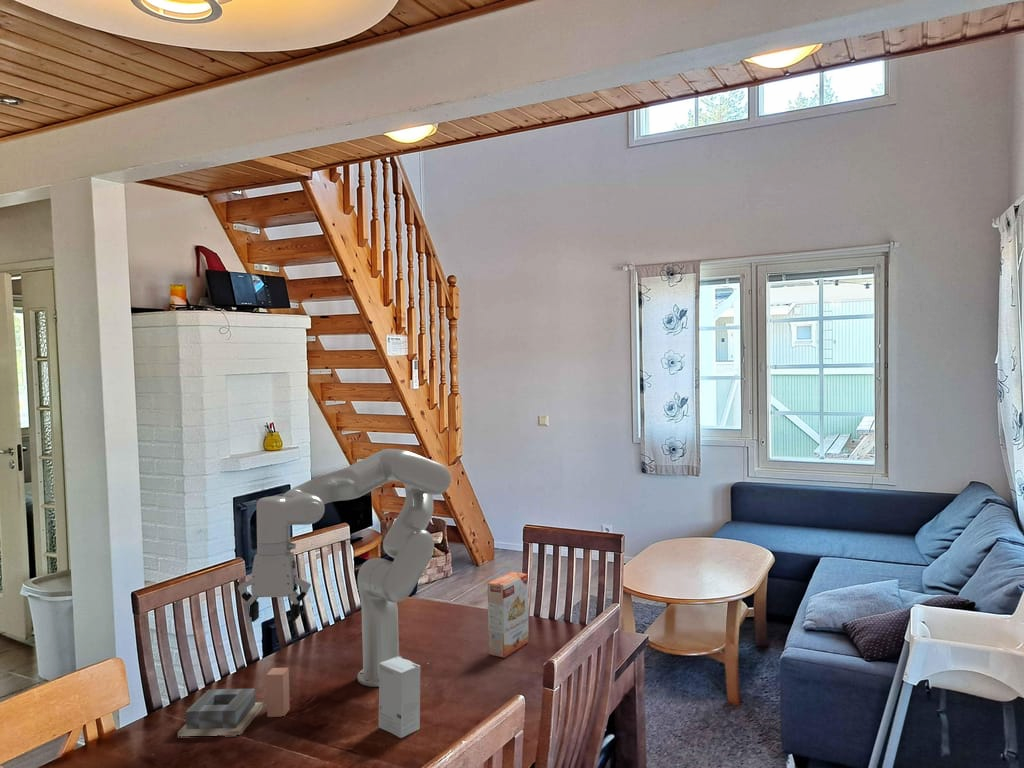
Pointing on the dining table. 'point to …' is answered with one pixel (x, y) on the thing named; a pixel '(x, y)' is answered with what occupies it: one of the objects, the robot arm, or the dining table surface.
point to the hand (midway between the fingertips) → (274, 619)
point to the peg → (277, 692)
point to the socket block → (221, 713)
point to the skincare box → (399, 696)
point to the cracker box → (508, 614)
